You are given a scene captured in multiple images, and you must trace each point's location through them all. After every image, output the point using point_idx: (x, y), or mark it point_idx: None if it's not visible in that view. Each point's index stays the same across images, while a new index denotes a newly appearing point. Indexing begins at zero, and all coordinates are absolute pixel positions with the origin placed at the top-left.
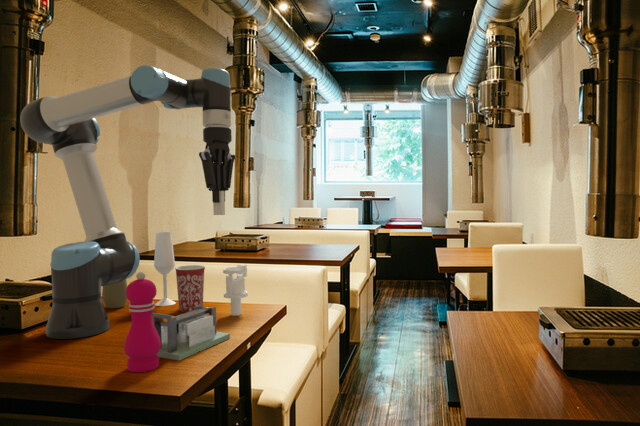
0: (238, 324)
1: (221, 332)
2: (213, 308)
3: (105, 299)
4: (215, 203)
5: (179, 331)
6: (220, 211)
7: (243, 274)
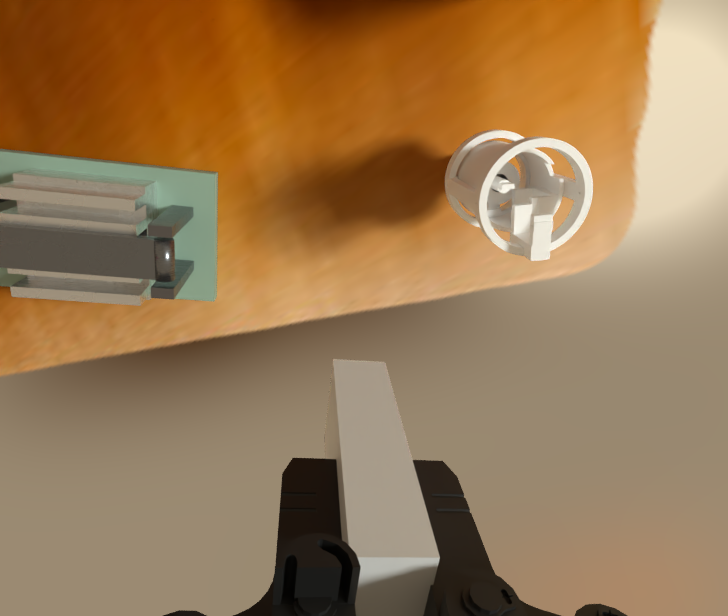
0: (354, 243)
1: (214, 273)
2: (162, 297)
3: None
4: (333, 455)
5: None
6: (326, 450)
7: (513, 241)
